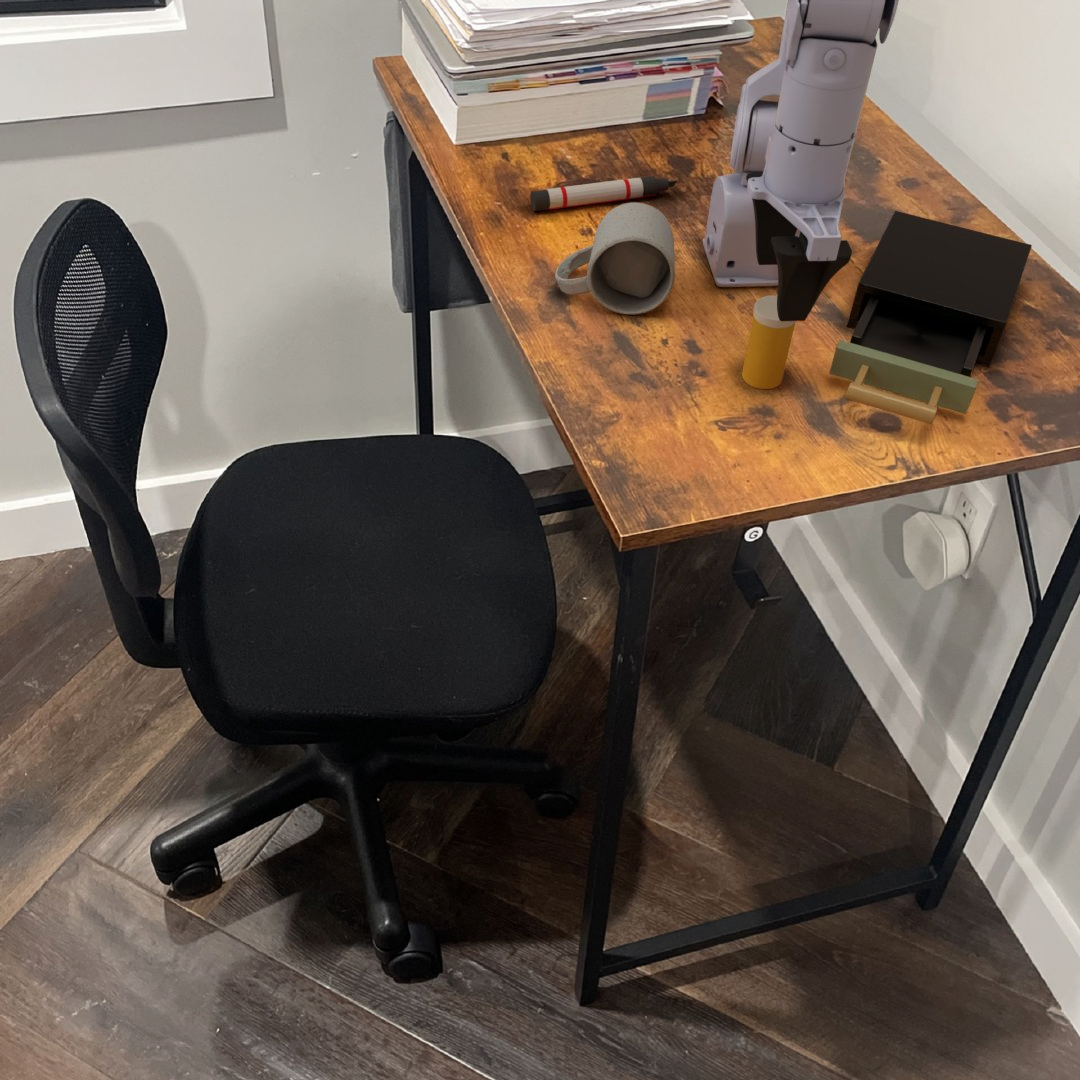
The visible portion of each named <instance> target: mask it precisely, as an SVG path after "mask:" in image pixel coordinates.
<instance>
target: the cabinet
mask: <svg viewBox="0 0 1080 1080" xmlns="http://www.w3.org/2000/svg"><path fill="white" fill-rule="evenodd" d="M1032 246H1033V245H1032V244H1030V243H1025V242H1022V241H1018V240H1014V239H1009V238H1006V237H1002V236H997V235H993V234H990V233H986V232H982V231H978V230H974V229H970V228H966V227H963V226H959V225H955V224H954V225H953V224H951V223H947V222H941V221H938V220H935V219H930V218H927V217H922V216H918V215H913V214H911V213H906V212H902V211H899V210H895V211H894V212H893V214H892V216H891V218H890V220H889V222H888V224H887V226H886V227H885V230H884V232H883V234H882V235H881V238H880V239H879V241H878V243H877V246H876V248H875V250H874V252H873V253H872V256H871V257H870V260H869V262H868V264H866V265H867V266H866V267H865V270H864V271H863V273H862V275H861V278H860V279H859V281H858V283H857V287H856V291H855V293H854V294H855V295H854V299H853V302H852V306H851V308H850V314H849V317H848V319H847V324H846V327H848V328H851V329H854V330H855V328H856V326H857V324H858V322H859V320H860V318H861V316H862V314H863V312H864V310H865V308H866V305H867V303H868V301H869V299H870V297H871V295H876V296H880V297H883V298H887V299H891V300H894V301H898V302H902V303H905V304H909V305H913V306H916V307H920V308H923V309H927V310H931V311H934V312H938V313H942V314H945V315H949V316H953V317H956V318H960V319H964V320H967V321H971V322H975V323H978V324H982V325H986V326H988V327H987V330H986V333H985V336H984V339H983V342H982V344H981V347H980V350H979V353H978V356H977V359H976V362H975V364H978V365H982V366H985V367H990V366H991V364H992V361H993V358H994V356H995V354H996V351H997V348H998V347H999V343H1000V342H1001V338H1002V336H1003V333H1004V331H1005V328H1006V326H1007V323H1008V320H1009V317H1010V313H1011V310H1012V307H1013V304H1014V302H1015V298H1016V296H1017V292H1018V289H1019V286H1020V283H1021V280H1022V277H1023V274H1024V271H1025V268H1026V265H1027V263H1028V259H1029V256H1030V252H1031V249H1032Z"/></svg>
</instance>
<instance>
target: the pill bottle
mask: <svg viewBox="0 0 1080 1080" xmlns="http://www.w3.org/2000/svg"><path fill="white" fill-rule="evenodd" d="M753 306H754V307H753V311H752V314H753V315H752V319H751V326H750V329H749V330H750V331H749V335H748V341H747V345H746V351H745V356H744V361H743V365H742V366H743V368H742V371H741V376H742V378H743V381H744V382H745V383H746V384H747V385H748V386H751V387H752V388H756V389H760V390H771V389H775V388H777V387H779V386H780V385H781V384H782V381H783V378H784V374H785V369H786V366H787V360H788V356H789V352H790V348H791V343H792V339H793V334H794V330H795V326H796V322H797V321H780V320H779V317H778V313H777V295H773V294H771V295H765V296H762V297H760V298H758V299H757V300H756V301H755V302H754V305H753Z"/></svg>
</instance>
